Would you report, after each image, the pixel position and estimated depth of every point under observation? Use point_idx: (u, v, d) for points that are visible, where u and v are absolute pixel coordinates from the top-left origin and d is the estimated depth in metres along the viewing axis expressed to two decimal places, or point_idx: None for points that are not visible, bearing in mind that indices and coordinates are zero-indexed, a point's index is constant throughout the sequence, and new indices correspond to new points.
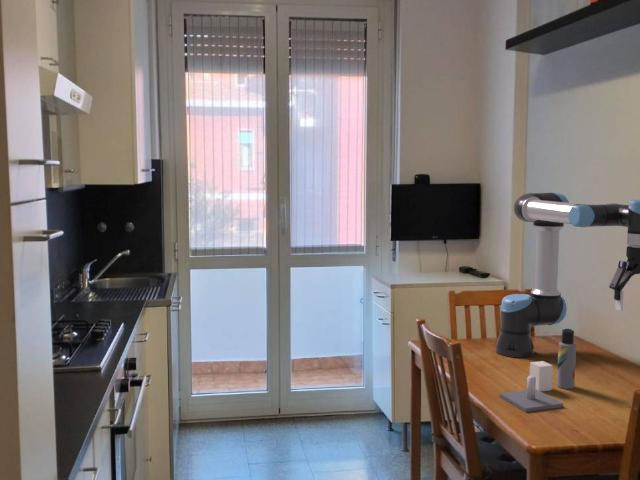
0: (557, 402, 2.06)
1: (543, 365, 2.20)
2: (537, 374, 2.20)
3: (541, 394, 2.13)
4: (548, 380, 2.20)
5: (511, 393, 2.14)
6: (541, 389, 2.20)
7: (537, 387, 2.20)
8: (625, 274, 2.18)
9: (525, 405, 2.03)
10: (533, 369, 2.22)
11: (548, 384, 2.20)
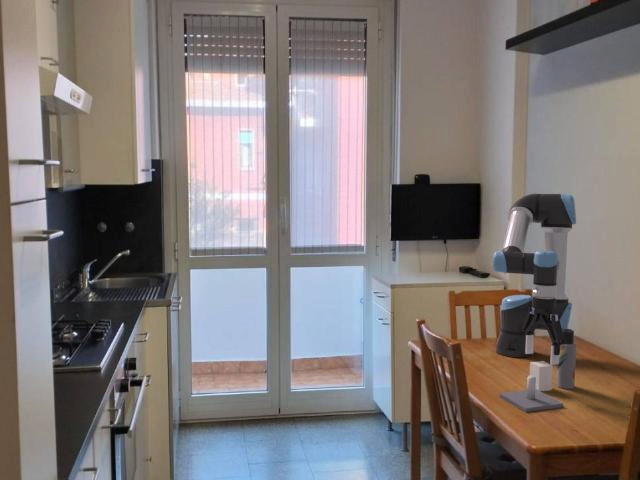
0: (557, 402, 2.06)
1: (543, 365, 2.20)
2: (537, 374, 2.20)
3: (541, 394, 2.13)
4: (548, 380, 2.20)
5: (511, 393, 2.14)
6: (541, 389, 2.20)
7: (537, 387, 2.20)
8: None
9: (525, 405, 2.03)
10: (533, 369, 2.22)
11: (548, 384, 2.20)
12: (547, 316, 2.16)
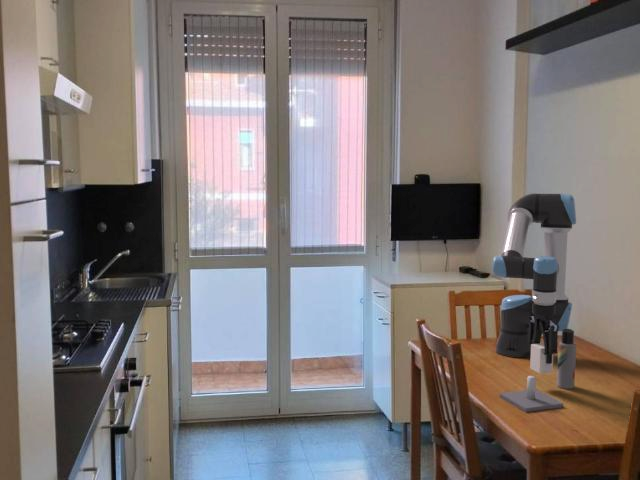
0: (557, 402, 2.06)
1: (544, 347, 2.20)
2: (537, 356, 2.20)
3: (541, 394, 2.13)
4: None
5: (511, 393, 2.14)
6: (542, 371, 2.20)
7: (538, 369, 2.20)
8: None
9: (525, 405, 2.03)
10: (534, 351, 2.21)
11: None
12: (547, 323, 2.17)
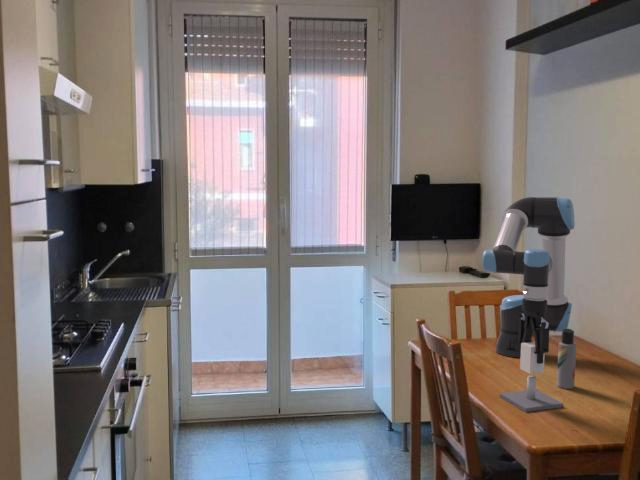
0: (557, 402, 2.06)
1: None
2: (528, 355, 2.06)
3: (541, 394, 2.13)
4: None
5: (511, 393, 2.14)
6: (532, 371, 2.05)
7: (528, 369, 2.06)
8: None
9: (525, 405, 2.03)
10: (524, 350, 2.08)
11: None
12: (538, 320, 2.03)
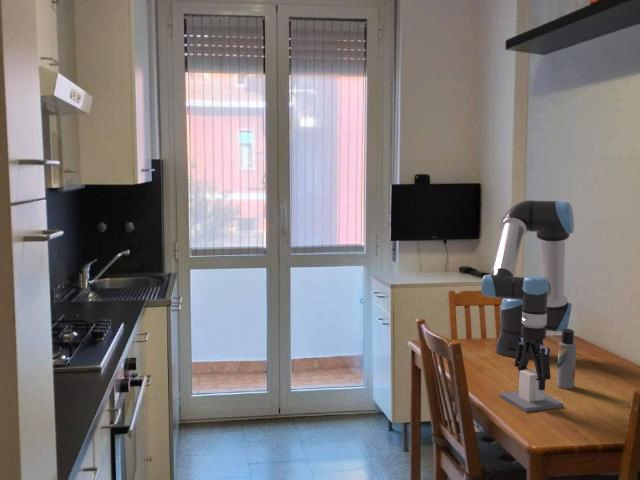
0: (557, 402, 2.06)
1: (533, 374, 2.07)
2: (527, 383, 2.07)
3: None
4: None
5: (511, 393, 2.14)
6: (531, 399, 2.07)
7: (527, 397, 2.07)
8: None
9: (525, 405, 2.03)
10: (523, 378, 2.09)
11: None
12: (537, 346, 2.04)
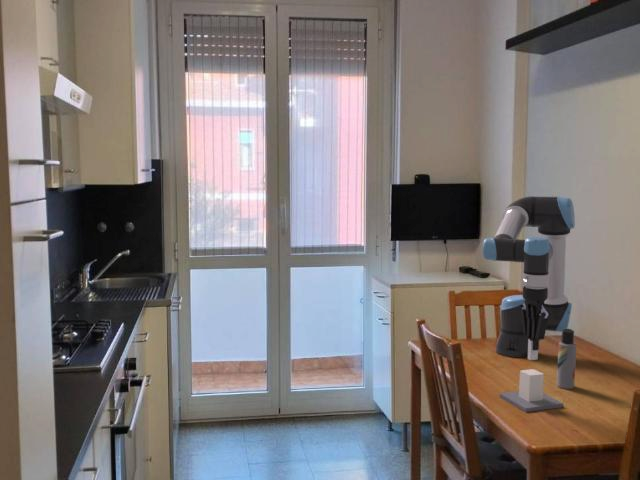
0: (557, 402, 2.06)
1: (533, 374, 2.07)
2: (527, 383, 2.07)
3: None
4: (539, 389, 2.07)
5: (511, 393, 2.14)
6: (531, 399, 2.07)
7: (527, 397, 2.07)
8: None
9: (525, 405, 2.03)
10: (523, 378, 2.09)
11: (539, 394, 2.07)
12: (538, 308, 2.03)
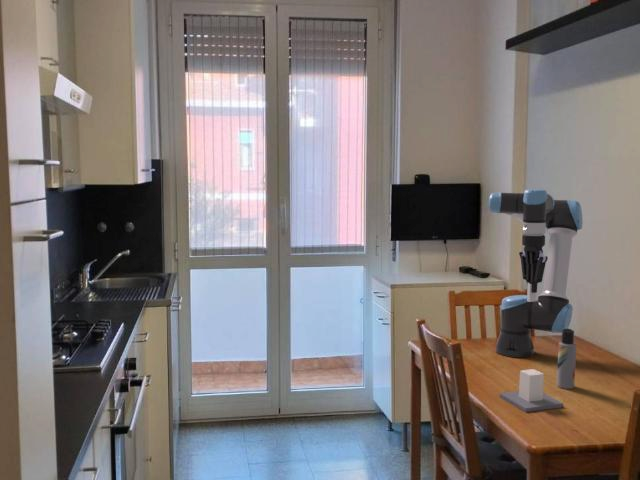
0: (557, 402, 2.06)
1: (533, 374, 2.07)
2: (527, 383, 2.07)
3: None
4: (539, 389, 2.07)
5: (511, 393, 2.14)
6: (531, 399, 2.07)
7: (527, 397, 2.07)
8: None
9: (525, 405, 2.03)
10: (523, 378, 2.09)
11: (539, 394, 2.07)
12: (536, 253, 2.22)
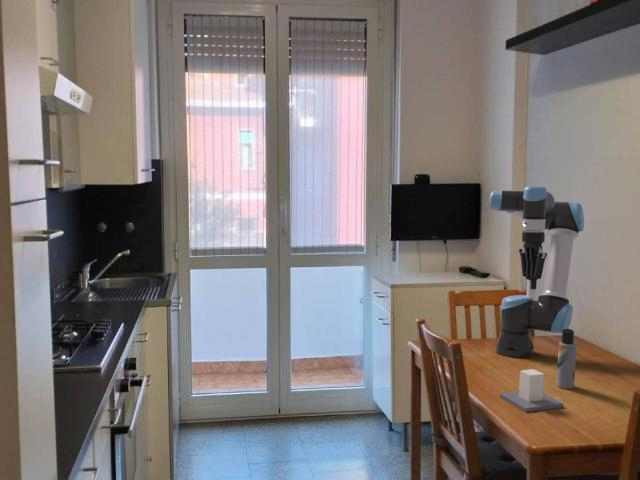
0: (557, 402, 2.06)
1: (533, 374, 2.07)
2: (527, 383, 2.07)
3: None
4: (539, 389, 2.07)
5: (511, 393, 2.14)
6: (531, 399, 2.07)
7: (527, 397, 2.07)
8: None
9: (525, 405, 2.03)
10: (523, 378, 2.09)
11: (539, 394, 2.07)
12: (536, 249, 2.24)
